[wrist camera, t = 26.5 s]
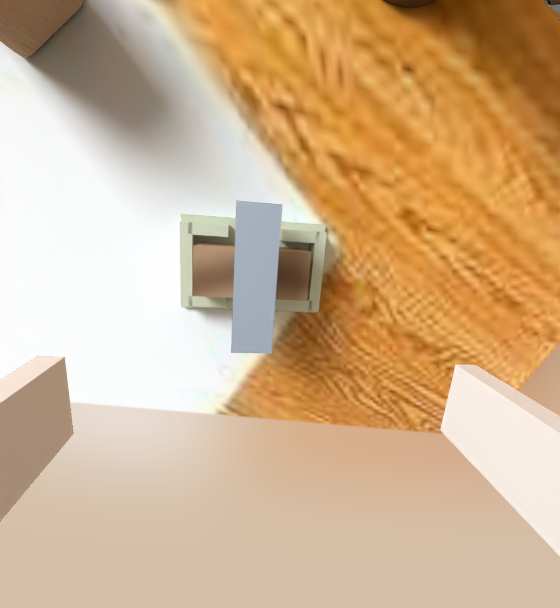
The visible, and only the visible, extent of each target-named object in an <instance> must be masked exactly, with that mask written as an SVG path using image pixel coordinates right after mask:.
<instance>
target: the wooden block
mask: <svg viewBox="0 0 560 608" xmlns="http://www.w3.org/2000/svg"><path fill="white" fill-rule="evenodd" d="M82 4H83V0H0V41H1V42H2V43H3V44H5V45H6V46H7V47H9V48H10V49H11V50H13V51H14V52H15V53H17V54H19V55H21V56H22V57H29V56H32V55H33V54H34V53H35V52H36V51H37V50H38V49H39V48H40V47H41V46H42V45H43V44H44V43H45V42H46V41H47V40H48V39H49V38H50V37H51V36H52V35H53V34H54V33H55V32H56V31H57V30H58V29H59V28H60V27H61V26H63V25H64V24H65V23H66V22H67V21H68V20H69V19H70V18H71V17H72V16H73V15H74V14H75V13H76V12H77V11H78V10H79V9H80V8H81V7H82Z"/></svg>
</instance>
